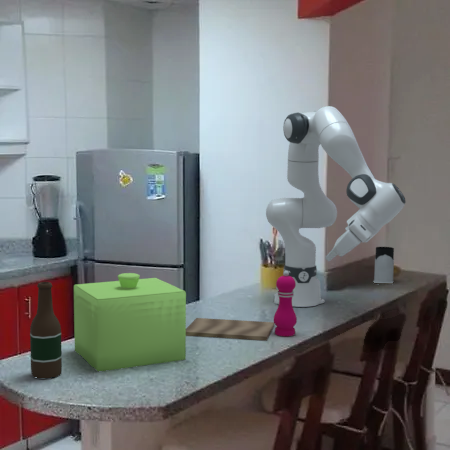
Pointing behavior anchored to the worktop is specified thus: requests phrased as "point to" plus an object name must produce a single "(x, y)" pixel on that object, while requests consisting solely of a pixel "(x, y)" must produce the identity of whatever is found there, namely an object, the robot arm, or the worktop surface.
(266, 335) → the walnut board
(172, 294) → the canister
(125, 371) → the worktop surface
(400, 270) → the worktop surface
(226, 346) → the worktop surface
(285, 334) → the pepper mill
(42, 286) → the beer bottle
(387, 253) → the glass holder
